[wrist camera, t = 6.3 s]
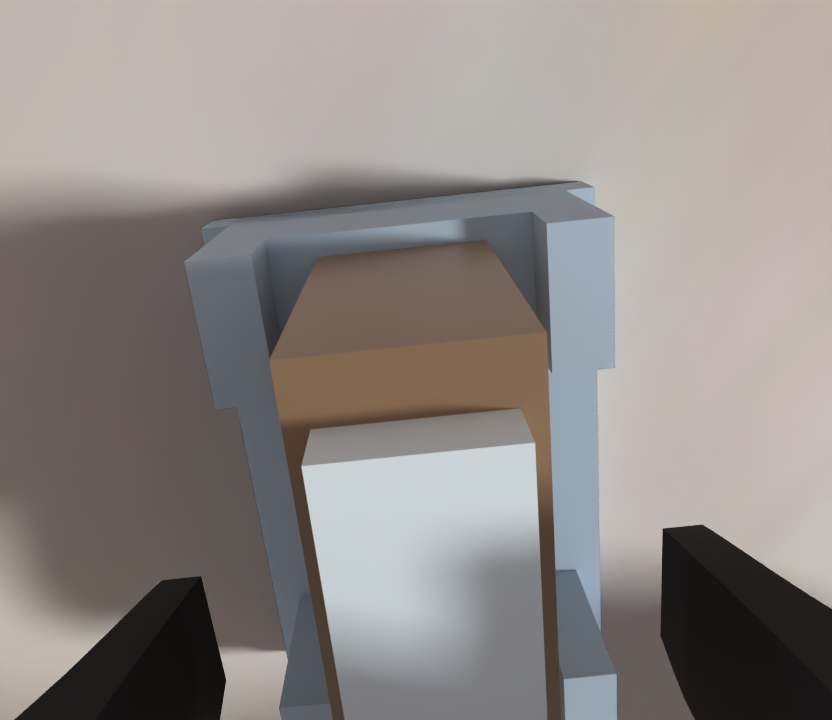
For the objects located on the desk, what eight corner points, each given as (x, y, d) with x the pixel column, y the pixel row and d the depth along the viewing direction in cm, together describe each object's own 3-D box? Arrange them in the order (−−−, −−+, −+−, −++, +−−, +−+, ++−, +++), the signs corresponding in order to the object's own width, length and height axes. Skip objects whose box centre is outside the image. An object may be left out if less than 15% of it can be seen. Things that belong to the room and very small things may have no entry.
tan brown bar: (516, 705, 15) (583, 1040, 10) (384, 719, 15) (380, 1059, 10) (486, 240, 12) (564, 360, 6) (318, 257, 12) (254, 390, 6)
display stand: (590, 621, 18) (644, 765, 14) (297, 651, 18) (271, 803, 14) (581, 181, 15) (651, 212, 11) (212, 220, 15) (146, 266, 11)
